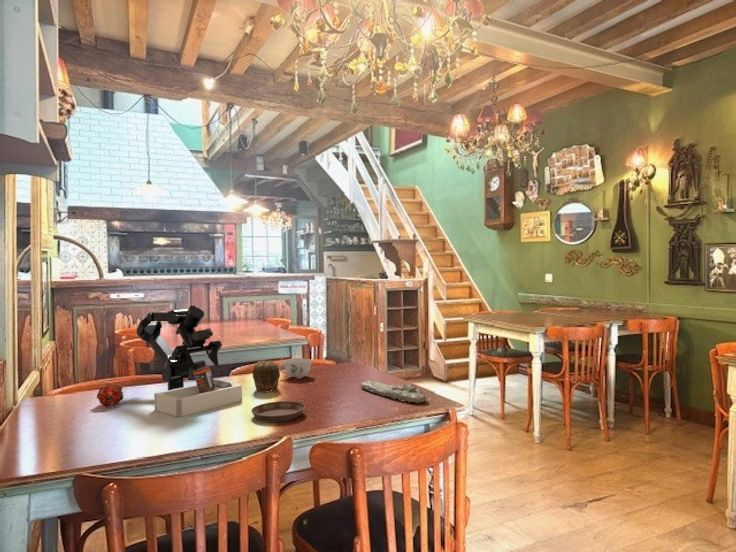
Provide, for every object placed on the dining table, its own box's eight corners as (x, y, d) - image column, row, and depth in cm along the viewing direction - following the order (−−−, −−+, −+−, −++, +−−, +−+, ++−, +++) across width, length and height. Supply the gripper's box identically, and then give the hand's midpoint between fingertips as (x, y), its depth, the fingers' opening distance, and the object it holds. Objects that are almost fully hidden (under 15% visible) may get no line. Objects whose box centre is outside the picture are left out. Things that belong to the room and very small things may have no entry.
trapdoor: (199, 401, 189) (195, 396, 187) (215, 384, 195) (211, 378, 193) (218, 406, 181) (214, 401, 180) (235, 388, 187) (230, 382, 186)
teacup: (309, 373, 236) (309, 356, 236) (314, 379, 224) (314, 361, 224) (277, 376, 232) (277, 358, 232) (280, 381, 220) (280, 363, 220)
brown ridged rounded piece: (247, 392, 200) (247, 362, 200) (260, 386, 211) (259, 358, 211) (273, 393, 197) (272, 363, 197) (284, 387, 208) (283, 358, 208)
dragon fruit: (114, 404, 190) (111, 417, 179) (93, 394, 187) (89, 406, 176) (128, 386, 191) (126, 398, 180) (108, 375, 188) (104, 386, 177)
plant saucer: (243, 424, 159) (242, 414, 159) (262, 408, 177) (262, 400, 177) (296, 425, 157) (296, 415, 157) (310, 410, 175) (310, 401, 175)
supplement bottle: (196, 395, 183) (187, 365, 182) (204, 389, 188) (195, 361, 188) (211, 391, 182) (202, 362, 181) (218, 386, 187) (209, 357, 187)
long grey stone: (373, 389, 210) (354, 394, 204) (372, 376, 210) (353, 381, 204) (434, 400, 183) (414, 407, 177) (432, 386, 183) (413, 392, 177)
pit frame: (154, 409, 176) (154, 393, 176) (217, 394, 197) (217, 380, 197) (178, 417, 167) (178, 399, 167) (242, 400, 188) (241, 385, 188)
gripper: (175, 323, 181) (192, 357, 174) (219, 319, 196) (236, 350, 189) (163, 343, 186) (180, 377, 179) (207, 338, 200) (224, 368, 194)
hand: (206, 367), depth 185 cm, fingers open, 9 cm apart
